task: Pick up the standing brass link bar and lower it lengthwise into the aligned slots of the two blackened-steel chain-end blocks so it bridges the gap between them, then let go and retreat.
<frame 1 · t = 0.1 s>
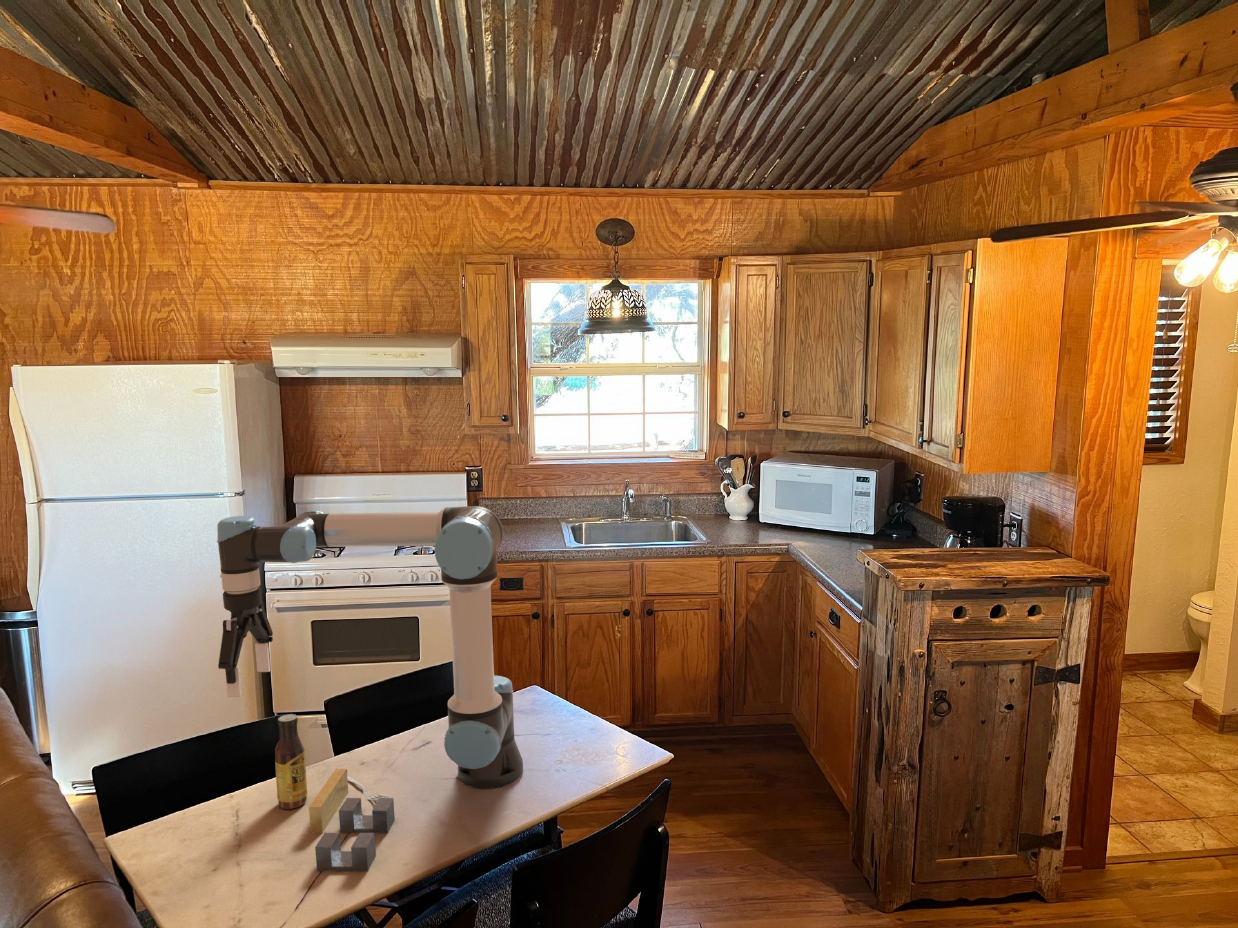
hand: (249, 683, 192), 28 cm above the table, fingers open, 13 cm apart
sauce bottle: (293, 803, 197), on the table
chain end a: (367, 826, 187), on the table
chain end b: (346, 863, 174), on the table
link bar: (330, 812, 193), on the table
fork: (356, 787, 204), on the table
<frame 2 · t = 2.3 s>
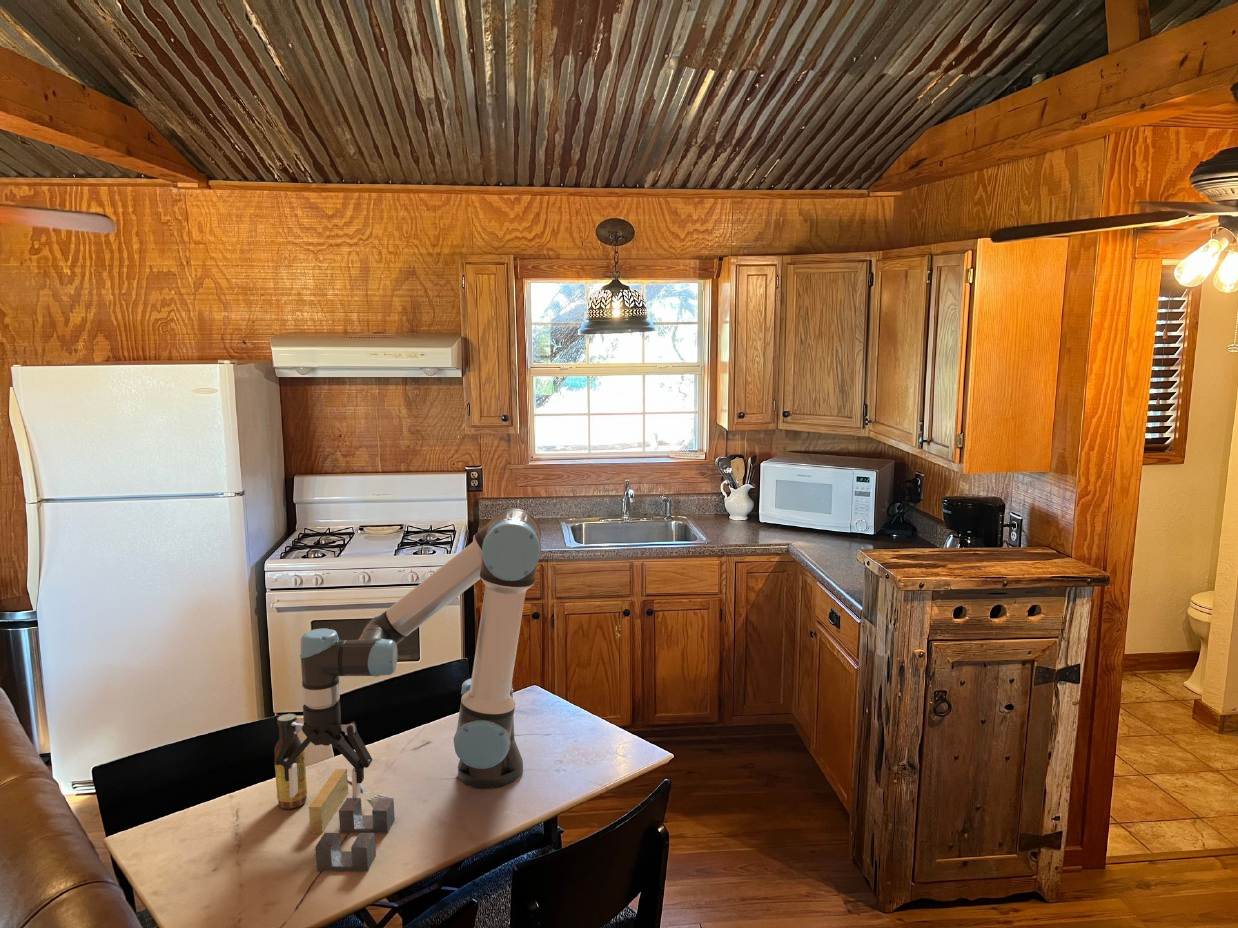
hand: (325, 795, 192), 4 cm above the table, fingers open, 13 cm apart
nothing on the table moved.
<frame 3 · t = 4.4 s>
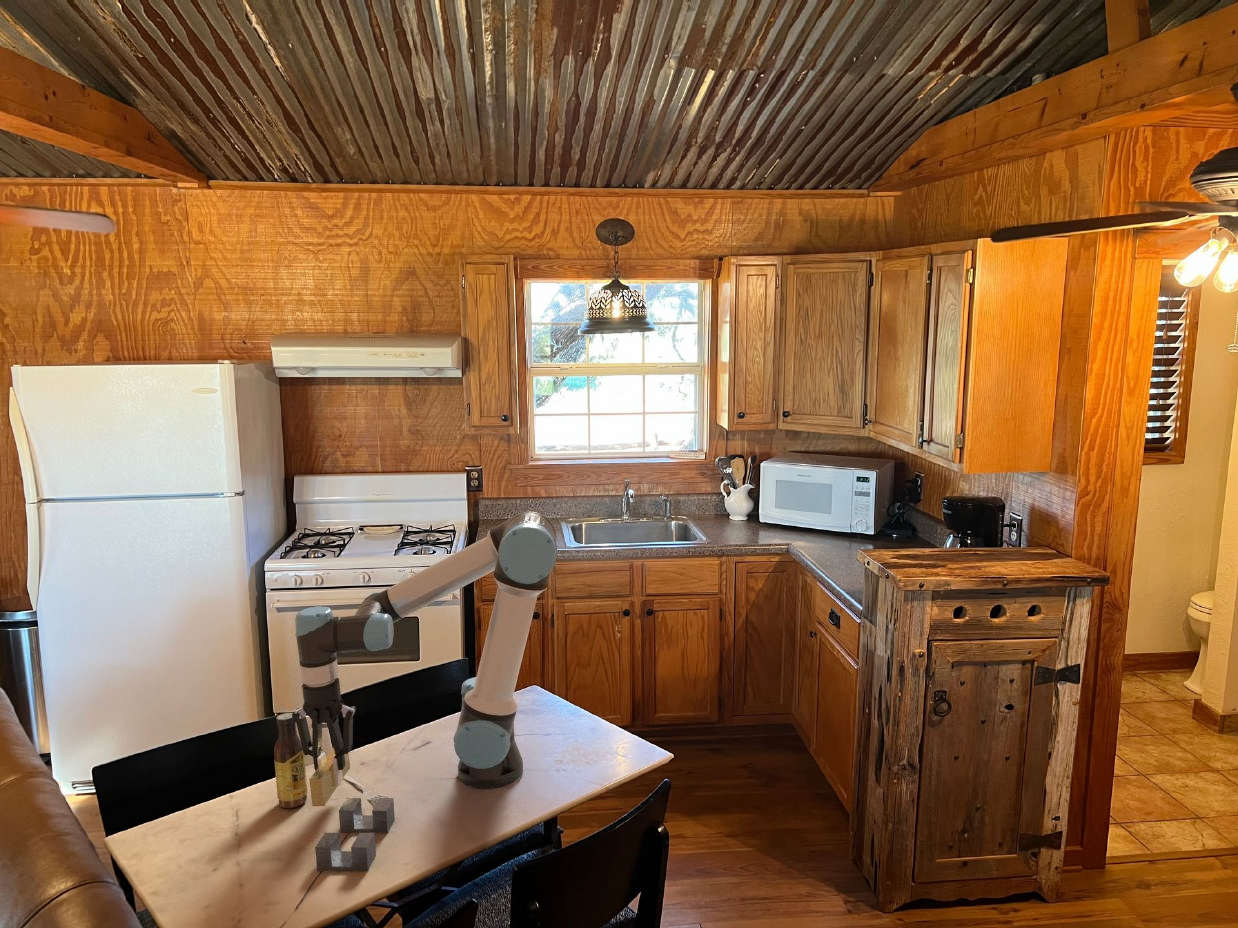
hand: (331, 782, 192), 7 cm above the table, fingers closed on link bar, 2 cm apart
link bar: (332, 786, 192), point 6 cm above the table, touching gripper
everything else where it was.
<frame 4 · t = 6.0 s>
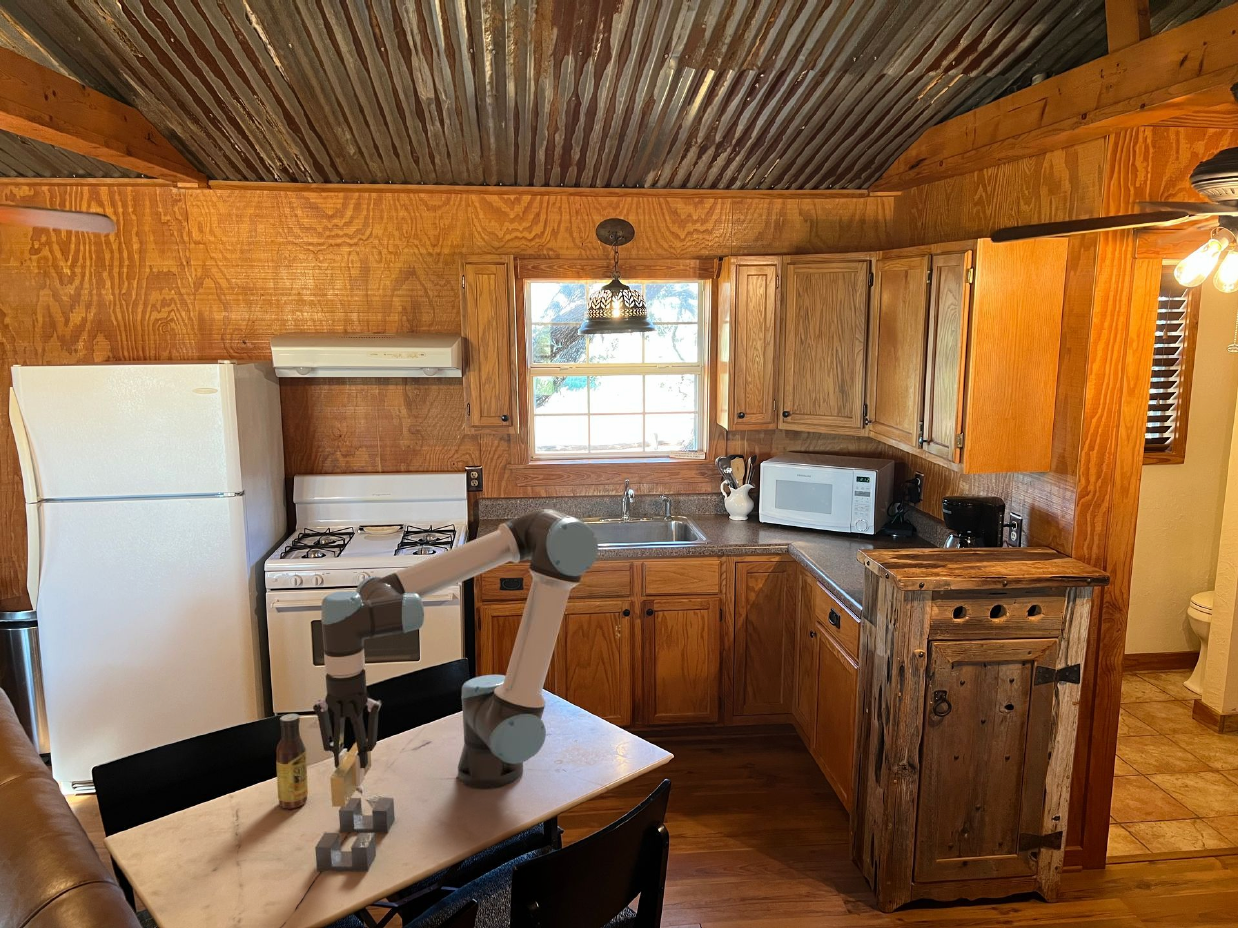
hand: (352, 781, 178), 14 cm above the table, fingers closed on link bar, 2 cm apart
link bar: (352, 785, 178), point 13 cm above the table, touching gripper
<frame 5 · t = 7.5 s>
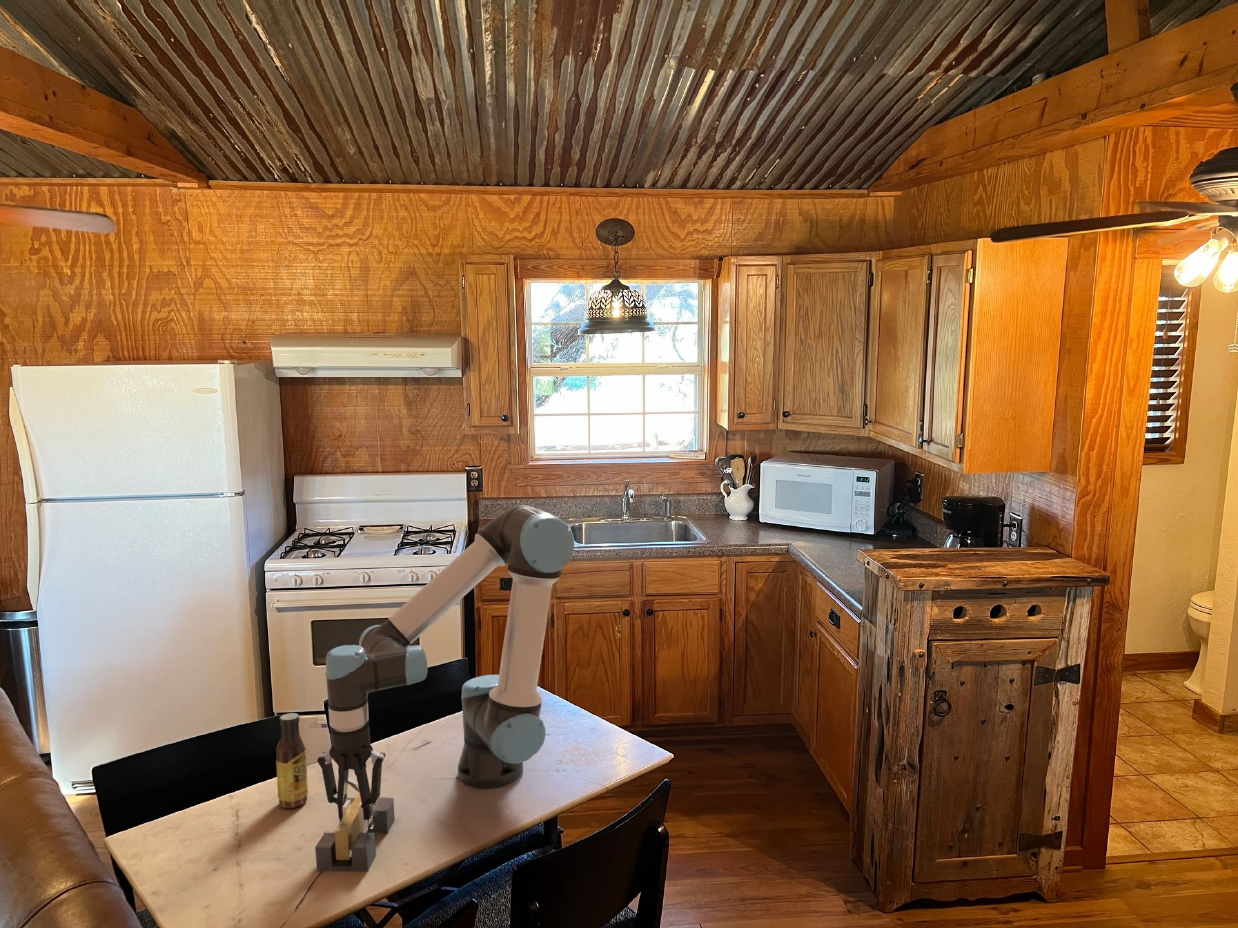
hand: (356, 832, 180), 2 cm above the table, fingers closed on link bar, 2 cm apart
link bar: (356, 836, 180), point 2 cm above the table, touching gripper
everything else where it was.
when the fingers open (2 cm above the table, at t = 7.8 s): link bar stays where it is, resting on chain end a, chain end b.
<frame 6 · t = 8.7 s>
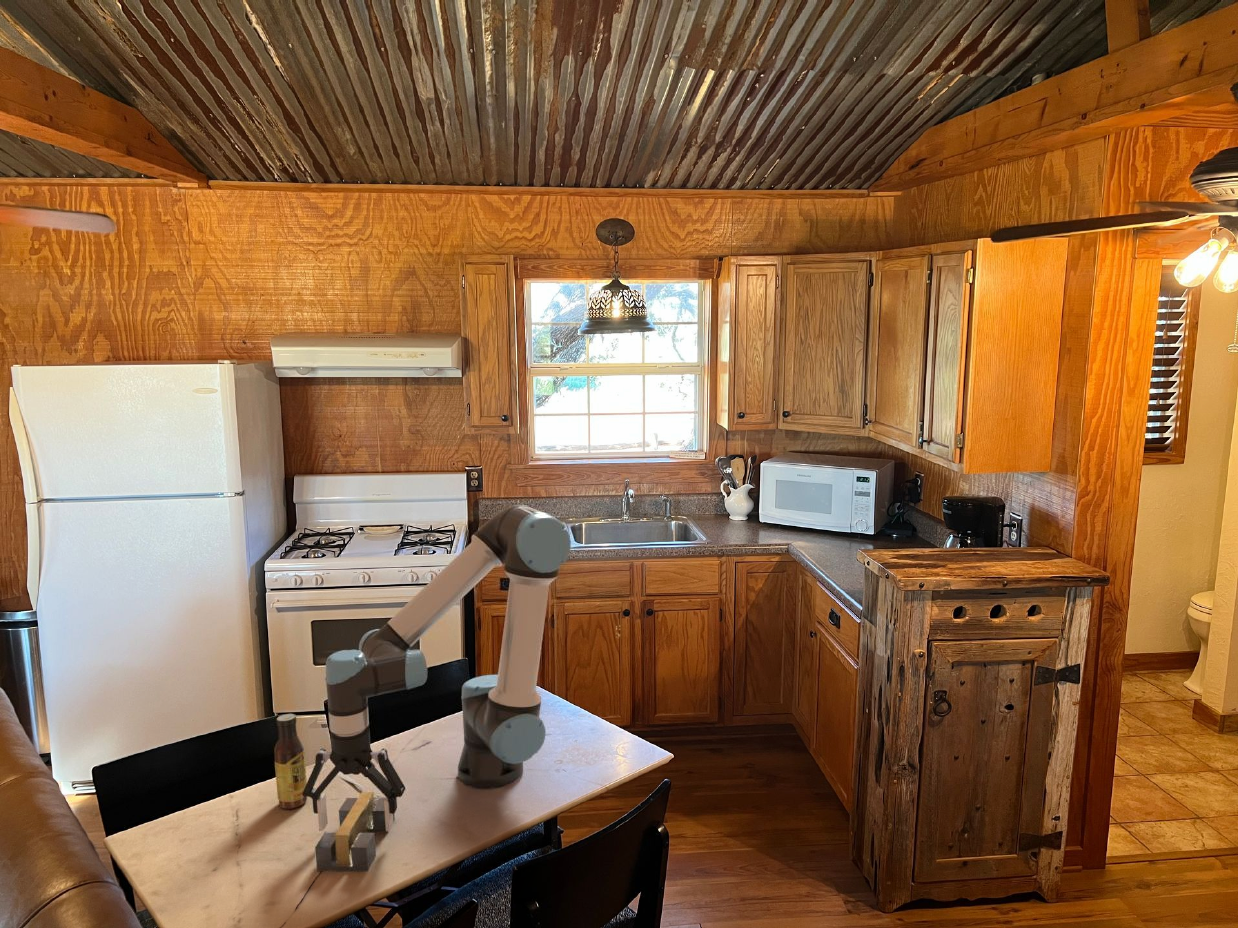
hand: (356, 827, 180), 4 cm above the table, fingers open, 13 cm apart
link bar: (357, 839, 180), point 1 cm above the table, touching chain end a, chain end b
everything else where it was.
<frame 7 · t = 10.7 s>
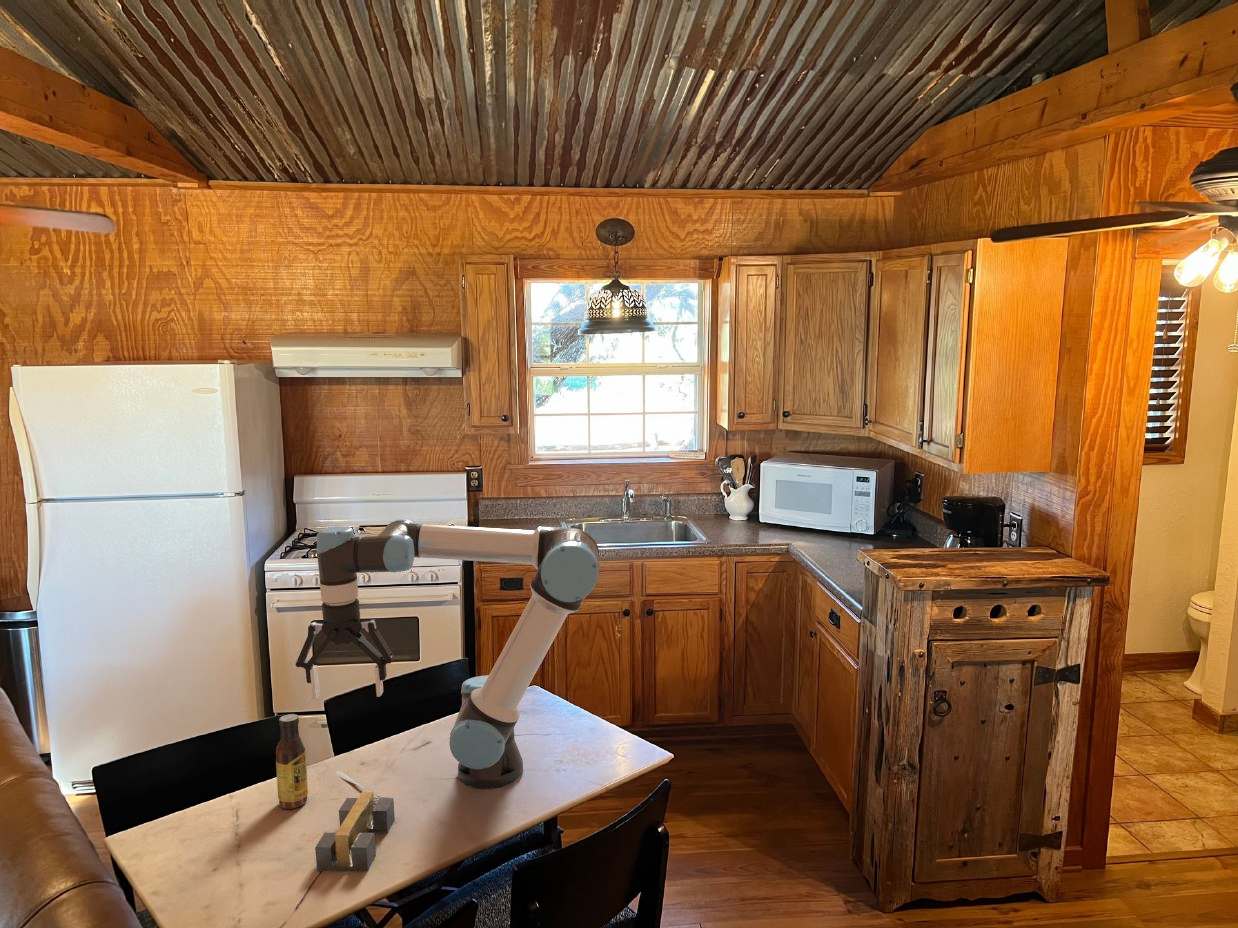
hand: (348, 695, 190), 26 cm above the table, fingers open, 13 cm apart
nothing on the table moved.
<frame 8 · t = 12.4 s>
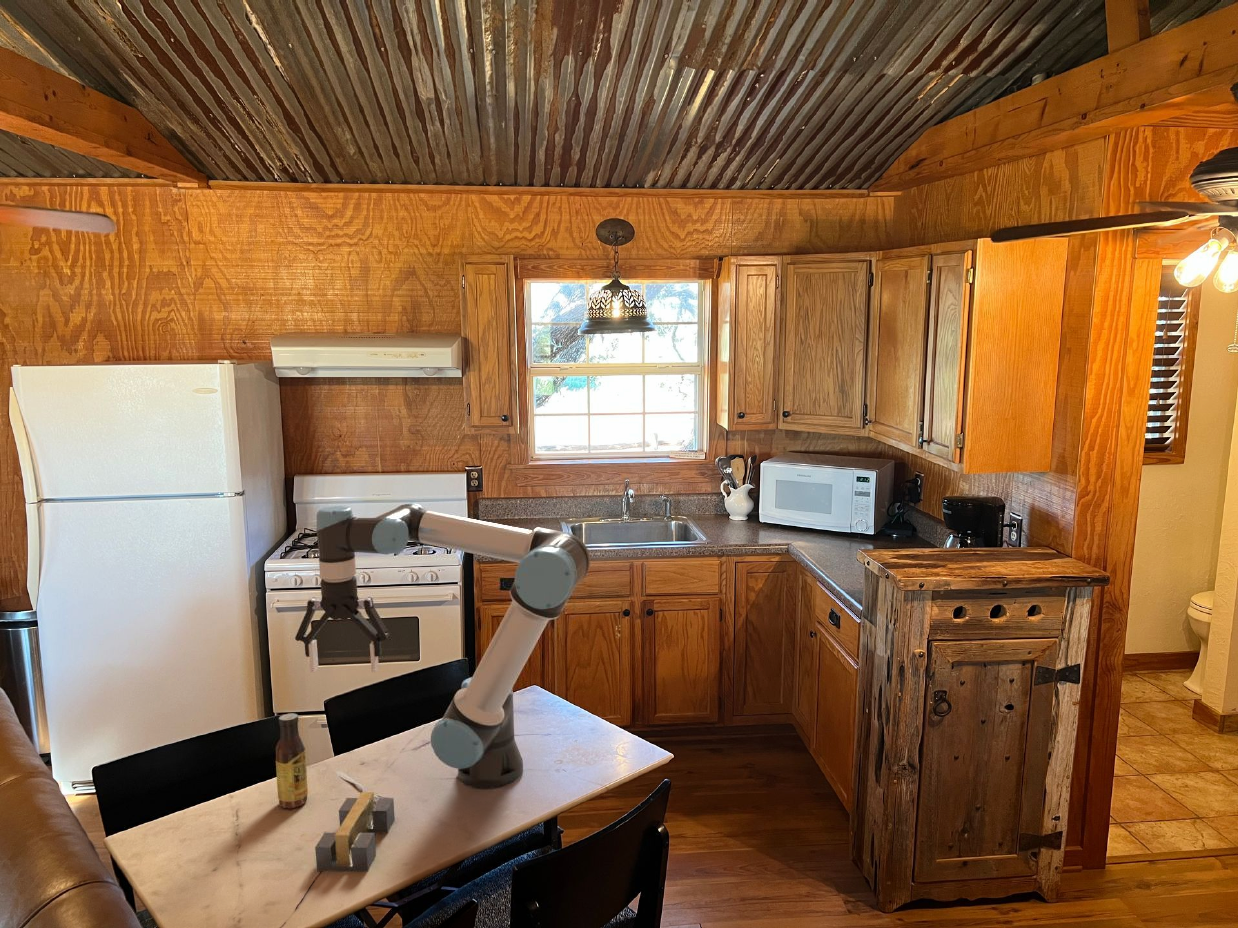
hand: (344, 670, 197), 29 cm above the table, fingers open, 13 cm apart
nothing on the table moved.
at the end: link bar 0.1 cm from the target spot, point 1.0 cm above the table; link bar tilted 0°; the gripper is holding nothing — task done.
